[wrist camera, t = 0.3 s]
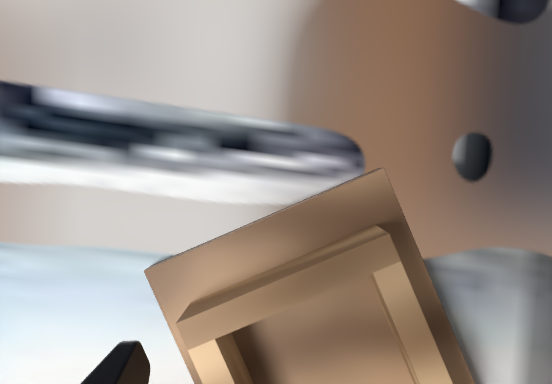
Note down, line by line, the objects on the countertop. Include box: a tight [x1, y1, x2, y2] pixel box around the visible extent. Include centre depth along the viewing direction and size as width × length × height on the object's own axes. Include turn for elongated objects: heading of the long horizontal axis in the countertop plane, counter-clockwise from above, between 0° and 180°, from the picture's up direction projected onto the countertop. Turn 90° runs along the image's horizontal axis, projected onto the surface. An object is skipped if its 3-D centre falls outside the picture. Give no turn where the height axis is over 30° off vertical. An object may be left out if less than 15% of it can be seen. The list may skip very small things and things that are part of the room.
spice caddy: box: [144, 168, 475, 384], centre depth 22 cm, size 16×14×4 cm
